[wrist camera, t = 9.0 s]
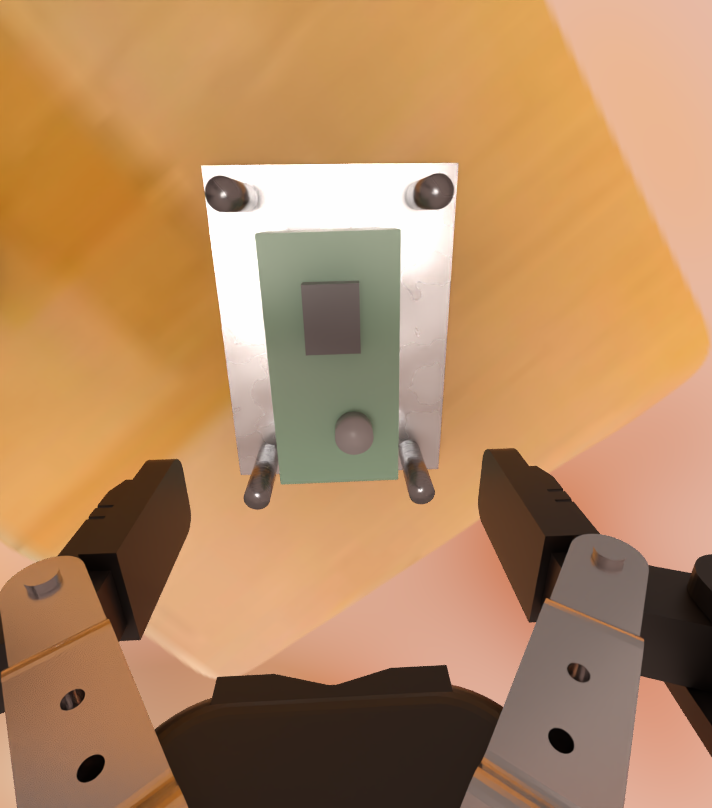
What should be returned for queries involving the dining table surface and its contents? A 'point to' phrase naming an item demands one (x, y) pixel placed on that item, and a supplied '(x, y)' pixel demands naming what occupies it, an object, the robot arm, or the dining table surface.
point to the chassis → (335, 209)
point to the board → (333, 350)
